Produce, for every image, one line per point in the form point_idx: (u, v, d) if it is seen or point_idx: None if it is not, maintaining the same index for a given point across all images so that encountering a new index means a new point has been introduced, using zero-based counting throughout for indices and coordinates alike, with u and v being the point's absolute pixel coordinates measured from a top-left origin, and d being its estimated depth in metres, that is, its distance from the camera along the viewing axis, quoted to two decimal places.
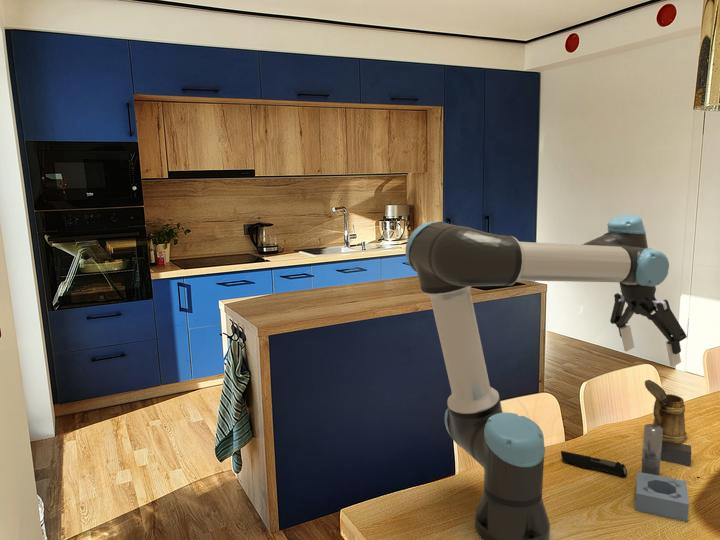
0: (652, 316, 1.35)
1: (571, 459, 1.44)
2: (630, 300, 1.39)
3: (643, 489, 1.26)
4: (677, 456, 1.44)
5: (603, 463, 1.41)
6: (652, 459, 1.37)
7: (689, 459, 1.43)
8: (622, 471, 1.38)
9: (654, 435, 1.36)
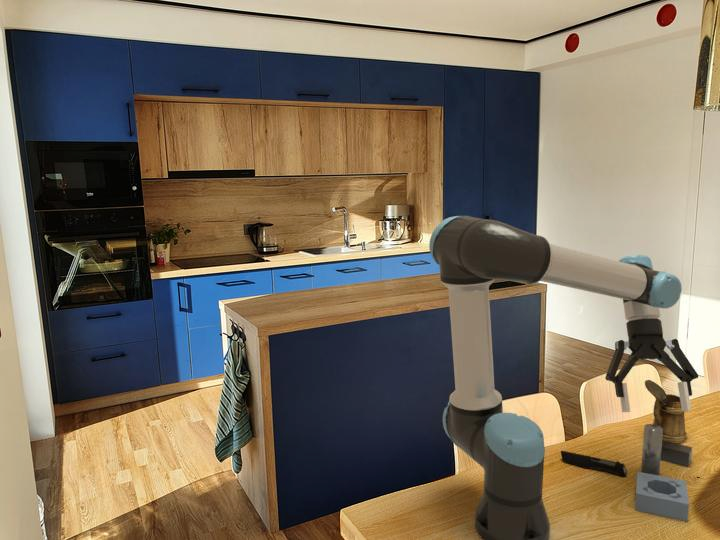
0: None
1: (571, 459, 1.45)
2: (640, 343, 1.34)
3: (643, 489, 1.26)
4: (675, 456, 1.44)
5: (603, 463, 1.41)
6: (652, 459, 1.37)
7: (687, 460, 1.42)
8: (622, 470, 1.39)
9: (654, 435, 1.36)
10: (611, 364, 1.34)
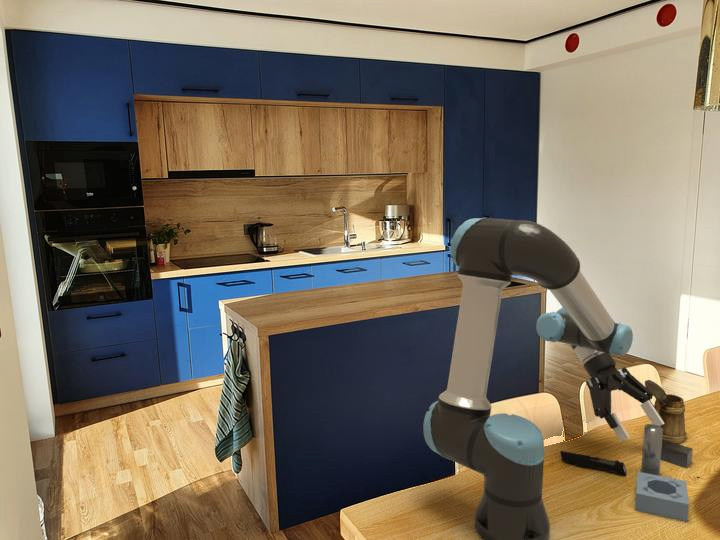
0: None
1: (571, 459, 1.45)
2: (605, 376, 1.48)
3: (643, 489, 1.26)
4: (674, 456, 1.44)
5: (603, 462, 1.41)
6: (652, 459, 1.37)
7: (685, 461, 1.42)
8: (622, 470, 1.39)
9: (654, 435, 1.36)
10: (594, 400, 1.43)
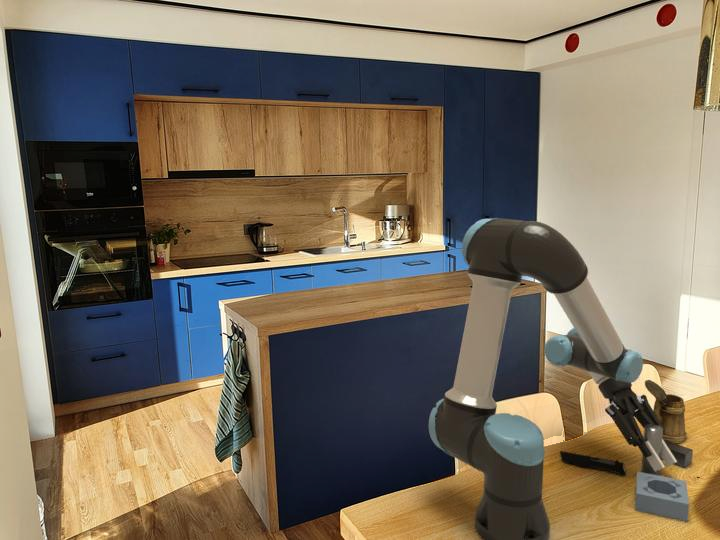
0: None
1: (570, 459, 1.44)
2: (619, 397, 1.43)
3: (643, 489, 1.26)
4: None
5: (603, 462, 1.41)
6: None
7: (683, 461, 1.42)
8: (622, 469, 1.39)
9: (654, 435, 1.36)
10: (622, 429, 1.39)
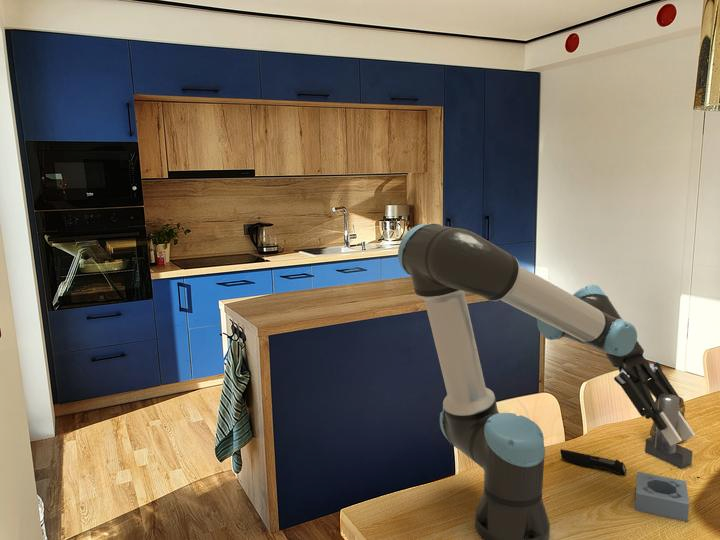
0: None
1: (570, 457, 1.45)
2: (630, 364, 1.28)
3: (643, 489, 1.26)
4: (670, 456, 1.44)
5: (602, 461, 1.42)
6: None
7: (681, 461, 1.41)
8: (621, 469, 1.39)
9: (670, 405, 1.21)
10: (634, 399, 1.24)
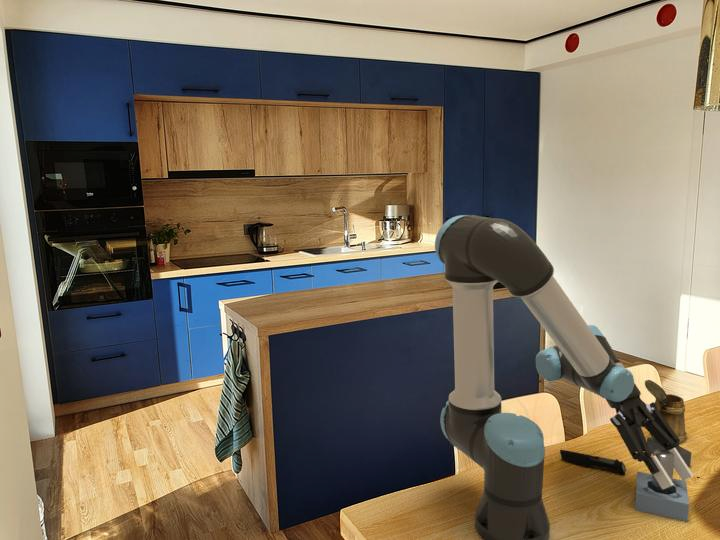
0: None
1: (570, 457, 1.45)
2: (627, 407, 1.30)
3: (643, 489, 1.26)
4: None
5: (602, 461, 1.42)
6: None
7: None
8: (621, 469, 1.39)
9: (665, 462, 1.24)
10: (628, 442, 1.26)
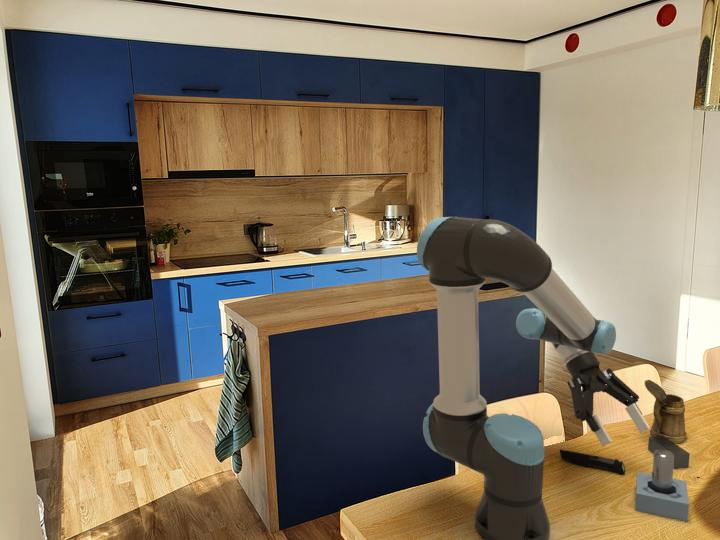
0: None
1: (570, 457, 1.45)
2: (588, 377, 1.40)
3: (643, 489, 1.26)
4: None
5: (602, 461, 1.42)
6: (663, 488, 1.25)
7: None
8: (621, 468, 1.40)
9: (665, 462, 1.24)
10: (575, 402, 1.35)
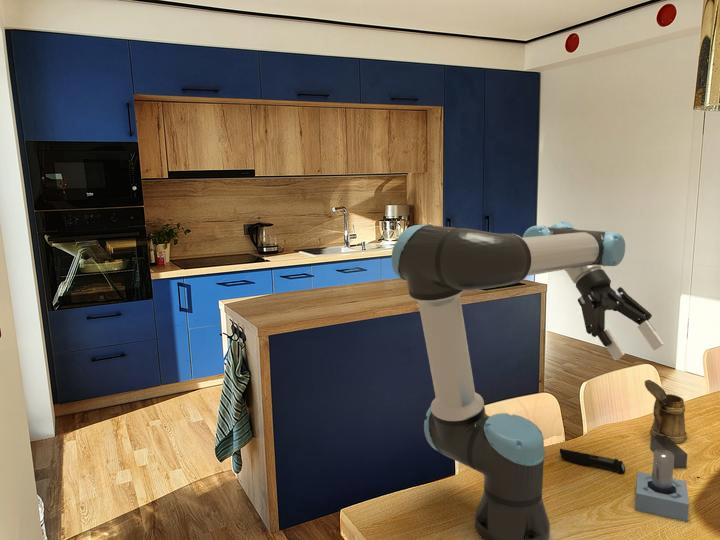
0: None
1: (570, 456, 1.46)
2: (598, 294, 1.35)
3: (643, 489, 1.26)
4: None
5: (601, 460, 1.42)
6: (663, 488, 1.25)
7: None
8: (620, 468, 1.40)
9: (665, 462, 1.24)
10: (586, 317, 1.31)
